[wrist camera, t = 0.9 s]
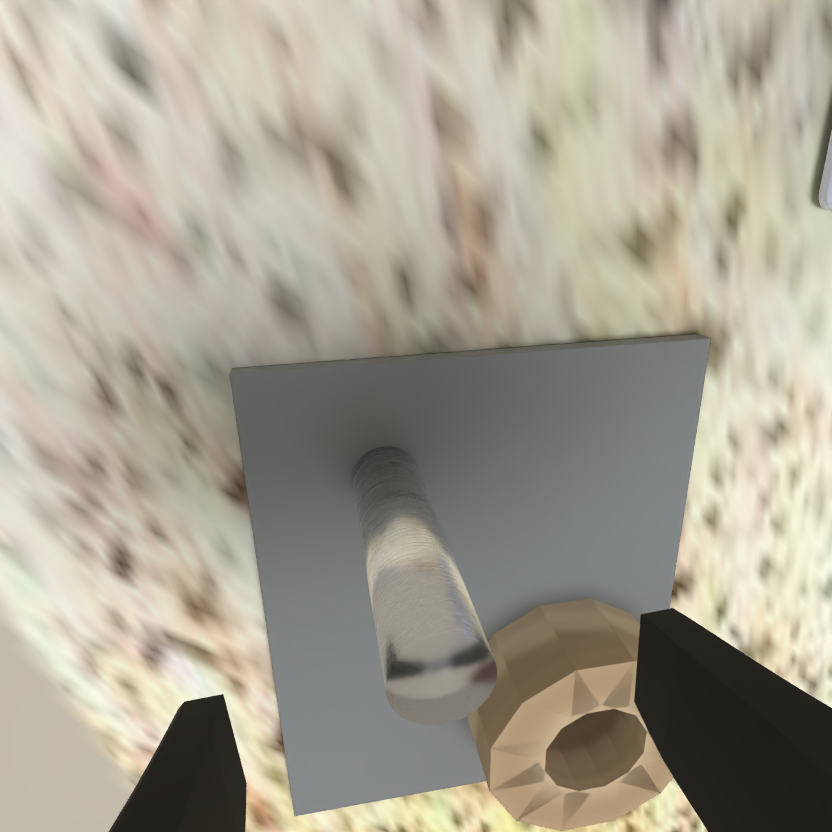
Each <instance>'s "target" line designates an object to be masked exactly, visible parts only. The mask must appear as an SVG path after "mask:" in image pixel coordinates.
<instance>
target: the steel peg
mask: <svg viewBox="0 0 832 832" xmlns="http://www.w3.org/2000/svg"><path fill="white" fill-rule="evenodd" d="M352 486H353V493H354V499H355V505H356V511H357V517H358V523H359V530H360V536H361V542H362V548H363V554H364V560H365V567H366V573H367V579H368V585H369V591H370V597H371V604H372V610H373V616H374V622H375V628H376V635H377V641H378V647H379V653H380V659H381V665H382V672H383V678H384V684H385V690H386V696H387V699H388V702H389V704H390V706H391V707H392V708H393V710H394V711H395V712H396V713H397V714H398V715H400V716H401V717H403V718H404V719H406V720H408V721H411V722H414V723H418V724H423V725H439V724H446V723H450V722H453V721H456V720H459V719H461V718H463V717H465V716H467V715H469V714H471V713H472V712H473V711H475V710H476V709H477V708H479V707H480V706H481V705H482V704H483V703H484V702H485V701H486V699H487V698H488V697H489V696H490V694H491V692H492V690H493V688H494V686H495V683H496V679H497V666H496V662H495V659H494V657H493V654H492V652H491V649H490V647H489V644H488V642H487V639H486V637H485V634H484V632H483V629H482V627H481V624H480V622H479V619H478V617H477V614H476V612H475V609H474V607H473V604H472V602H471V599H470V597H469V594H468V592H467V589H466V587H465V584H464V582H463V579H462V577H461V574H460V572H459V569H458V567H457V564H456V562H455V559H454V557H453V554H452V552H451V549H450V547H449V544H448V542H447V539H446V537H445V534H444V532H443V529H442V527H441V524H440V522H439V519H438V517H437V514H436V512H435V509H434V507H433V504H432V502H431V499H430V497H429V494H428V492H427V489H426V487H425V484H424V482H423V479H422V477H421V474H420V472H419V469H418V467H417V464H416V462H415V460H414V459H413V458H412V456H411V455H410V454H409V453H407V452H406V451H404V450H402V449H400V448H397V447H392V446H383V447H378V448H374V449H372V450H370V451H368V452H367V453H365V454H364V455H363V456H362V457H361V458H360V459H359V460H358V461H357V463H356V464H355V466H354V468H353V472H352Z"/></svg>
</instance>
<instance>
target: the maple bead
mask: <svg viewBox="0 0 832 832" xmlns="http://www.w3.org/2000/svg"><path fill="white" fill-rule="evenodd" d="M639 630H640V623H639V622H638V621H637V619H636V618H635V617H634V615H633V614H631V613H629V612H626V611H624V610H621V609H618V608H616V607H613V606H610V605H608V604H605V603H602V602H600V601H597V600H595V599H592V598H590V599H583V600H575V601H568V602H561V603H554V604H547V605H540V606H538V607H536V608H535V609H533V610H532V611H530V612H528V613H527V614H525V615H524V616H522V617H520V618H519V619H517V620H515V621H514V622H512V623H511V624H509V625H507V626H506V627H504V628H502V629H501V630H499V631H498V632H496V633H494V634H493V635H492V637H491V638H490V640H489V641H488V644H489V647H490V649H491V652H492V654H493V657H494V659H495V662H496V666H497V679H496V683H495V686H494V688H493V690H492V692H491V694H490V696H489V697H488V698H487V699H486V701H485V702H484V703H483V704H482V705H481V706H480V707H479V708H477V709H476V710H475V711H473V712H472V713H471V714H469V715H467V719H468V722H469V725H470V729H471V732H472V735H473V738H474V742H475V745H476V748H477V751H478V755H479V758H480V761H481V765H482V768H483V771H484V774H485V778H486V781H487V784H488V787H489V791H490V792H491V793H492V794H493V796H494V797H495V798H496V799H497V800H498V801H499V802H500V803H501V804H502V805H503V807H504V808H505V809H506V810H507V811H508V812H509V813H510V814H511V815H512V817H513V818H514V819H515V820H516V821H518V822H523V823H527V824H532V825H536V826H541V827H546V828H550V829H555V830H559V831H565V830H570V829H575V828H580V827H585V826H590V825H594V824H599V823H604V822H609V821H614V820H616V819H617V818H619V817H621V816H622V815H624V814H626V813H627V812H629V811H631V810H632V809H634V808H636V807H638V806H639V805H641V804H643V803H644V802H646V801H648V800H649V799H651V798H653V797H654V796H656V795H658V794H660V793H661V792H662V790H663V789H664V788H665V787H666V786H667V784H668V783H669V782H670V781H671V779H672V778H673V775H672V774H671V772H670V771H669V769H668V767H667V766H666V764H665V763H664V761H663V759H662V757H661V755H660V753H659V751H658V749H657V747H656V746H655V744H654V742H653V740H652V738H651V736H650V734H649V732H648V730H647V728H646V725H645V723H644V721H643V719H642V717H641V715H640V713H639V711H638V709H637V707H636V705H635V702H634V696H635V683H636V670H637V656H638V643H639Z"/></svg>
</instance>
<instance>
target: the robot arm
mask: <svg viewBox="0 0 832 832" xmlns="http://www.w3.org/2000/svg"><path fill="white" fill-rule="evenodd" d="M819 202H820V205H821V206H822V207H823V208H824V209H825V210H830V211H832V131H831V136H830V141H829V146H828V151H827V156H826V161H825V166H824V170H823V175H822V180H821V185H820V190H819ZM634 702H635V705H636V707H637V709H638V711H639V713H640V715H641V717H642V719H643V721H644V723H645V725H646V728H647V730H648V732H649V734H650V736H651V738H652V740H653V742H654V744H655V746H656V747H657V749H658V751H659V753H660V755H661V757H662V759H663V761H664V763H665V764H666V766H667V767H668V769H669V771H670V772H671V774H672V775H673V777H674V779H675V780H676V782H677V783H678V785H679V786H680V788H681V790H682V791H683V793H684V794H685V796H686V798H687V799H688V801H689V802H690V804H691V805H692V807H693V809H694V810H695V812H696V813H697V815H698V816H699V818H700V819H701V821H702V822H703V824H704V826H705V827H706V829H707V830H708V832H832V708H831V707H829V706H827V705H826V704H824V703H822V702H821V701H819V700H817V699H816V698H814V697H812V696H811V695H809V694H807V693H806V692H804V691H802V690H801V689H799V688H797V687H796V686H794V685H793V684H791V683H789V682H788V681H786V680H784V679H783V678H781V677H780V676H778V675H776V674H775V673H773V672H772V671H770V670H769V669H767V668H765V667H764V666H762V665H761V664H759V663H758V662H756V661H754V660H753V659H751V658H750V657H748V656H747V655H745V654H744V653H742V652H741V651H739V650H737V649H736V648H734V647H733V646H731V645H730V644H728V643H727V642H725V641H724V640H722V639H720V638H719V637H717V636H716V635H714V634H713V633H711V632H710V631H708V630H707V629H705V628H704V627H702V626H700V625H699V624H697V623H696V622H694V621H693V620H691V619H690V618H688V617H686V616H685V615H683V614H682V613H680V612H678V611H677V610H675V609H673V608H671V609H665V610H660V611H655V612H650V613H645V614H641V616H640V630H639V643H638V656H637V670H636V683H635V696H634ZM245 822H246V780H245V776H244V772H243V769H242V765H241V761H240V757H239V753H238V749H237V745H236V742H235V738H234V734H233V730H232V726H231V722H230V718H229V715H228V711H227V707H226V703H225V699H224V695H223V694H222V695H217V696H212V697H207V698H201V699H196V700H191V701H186V702H184V703H183V704H182V705H181V706H180V708H179V709H178V711H177V713H176V714H175V716H174V718H173V720H172V722H171V724H170V726H169V728H168V730H167V731H166V733H165V735H164V737H163V739H162V741H161V743H160V744H159V746H158V748H157V750H156V752H155V754H154V755H153V757H152V759H151V761H150V763H149V764H148V766H147V768H146V770H145V771H144V773H143V775H142V777H141V778H140V780H139V782H138V784H137V785H136V787H135V789H134V791H133V792H132V794H131V796H130V797H129V799H128V801H127V803H126V804H125V806H124V807H123V809H122V811H121V812H120V814H119V816H118V817H117V819H116V821H115V822H114V824H113V826H112V827H111V829H110V831H109V832H245Z"/></svg>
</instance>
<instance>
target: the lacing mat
mask: <svg viewBox="0 0 832 832" xmlns="http://www.w3.org/2000/svg"><path fill="white" fill-rule="evenodd" d="M710 341H711V338H708V337H706V336H703V335H700V334H690V335H677V336H663V337H650V338H637V339H623V340H610V341H596V342H583V343H569V344H556V345H542V346H529V347H515V348H502V349H488V350H475V351H461V352H448V353H434V354H421V355H407V356H394V357H380V358H367V359H353V360H340V361H326V362H313V363H299V364H286V365H272V366H259V367H245V368H232V370H231V373H230V380H231V386H232V393H233V400H234V407H235V414H236V421H237V427H238V434H239V441H240V448H241V455H242V462H243V468H244V475H245V482H246V489H247V496H248V503H249V510H250V516H251V523H252V530H253V537H254V544H255V551H256V557H257V564H258V571H259V578H260V585H261V592H262V598H263V605H264V612H265V619H266V626H267V633H268V639H269V646H270V653H271V660H272V667H273V674H274V681H275V687H276V694H277V701H278V708H279V715H280V722H281V728H282V735H283V742H284V749H285V756H286V763H287V769H288V776H289V783H290V790H291V797H292V804H293V810H294V816H298V815H304V814H309V813H315V812H320V811H326V810H331V809H336V808H342V807H347V806H353V805H358V804H364V803H369V802H374V801H380V800H385V799H391V798H396V797H402V796H407V795H413V794H418V793H423V792H429V791H434V790H440V789H445V788H451V787H456V786H461V785H467V784H472V783H478V782H483V781H486V778H485V774H484V771H483V768H482V765H481V761H480V758H479V755H478V751H477V748H476V745H475V742H474V738H473V735H472V732H471V729H470V725H469V722H468V719H467V716H465V717H463V718H461V719H459V720H456V721H453V722H450V723H446V724H439V725H423V724H418V723H414V722H411V721H408V720H406V719H404V718H403V717H401V716H400V715H398V714H397V713H396V712H395V711H394V710H393V708H392V707H391V706H390V704H389V702H388V699H387V696H386V690H385V684H384V678H383V672H382V665H381V659H380V653H379V647H378V641H377V635H376V628H375V622H374V616H373V610H372V604H371V597H370V591H369V585H368V579H367V573H366V567H365V560H364V554H363V548H362V542H361V536H360V530H359V523H358V517H357V511H356V505H355V499H354V493H353V486H352V472H353V468H354V466H355V464H356V463H357V461H358V460H359V459H360V458H361V457H362V456H363V455H364V454H365V453H367V452H368V451H370V450H372V449H374V448H378V447H383V446H392V447H397V448H400V449H402V450H404V451H406V452H407V453H409V454H410V455H411V456H412V458H413V459H414V460H415V462H416V464H417V467H418V469H419V472H420V474H421V477H422V479H423V482H424V484H425V487H426V489H427V492H428V494H429V497H430V499H431V502H432V504H433V507H434V509H435V512H436V514H437V517H438V519H439V522H440V524H441V527H442V529H443V532H444V534H445V537H446V539H447V542H448V544H449V547H450V549H451V552H452V554H453V557H454V559H455V562H456V564H457V567H458V569H459V572H460V574H461V577H462V579H463V582H464V584H465V587H466V589H467V592H468V594H469V597H470V599H471V602H472V604H473V607H474V609H475V612H476V614H477V617H478V619H479V622H480V624H481V627H482V629H483V632H484V634H485V637H486V639H487V642H488V641H489V640H490V638H491V637H492V635H493V634H494V633H496V632H498V631H499V630H501V629H502V628H504V627H506V626H507V625H509V624H511V623H512V622H514V621H515V620H517V619H519V618H520V617H522V616H524V615H525V614H527V613H528V612H530V611H532V610H533V609H535V608H536V607H538V606H540V605H547V604H554V603H561V602H568V601H575V600H583V599H590V598H592V599H595V600H597V601H600V602H602V603H605V604H608V605H610V606H613V607H616V608H618V609H621V610H624V611H626V612H629V613H631V614H633V615H634V617H635V618H636V619H637V621H638V622H639V623H640V616H641V614H645V613H650V612H655V611H660V610H665V609H669V608H670V601H671V595H672V588H673V582H674V575H675V569H676V562H677V556H678V549H679V543H680V536H681V529H682V523H683V516H684V510H685V503H686V497H687V490H688V484H689V477H690V471H691V464H692V458H693V451H694V445H695V438H696V432H697V425H698V419H699V412H700V406H701V399H702V393H703V386H704V380H705V373H706V367H707V360H708V354H709V347H710Z"/></svg>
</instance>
